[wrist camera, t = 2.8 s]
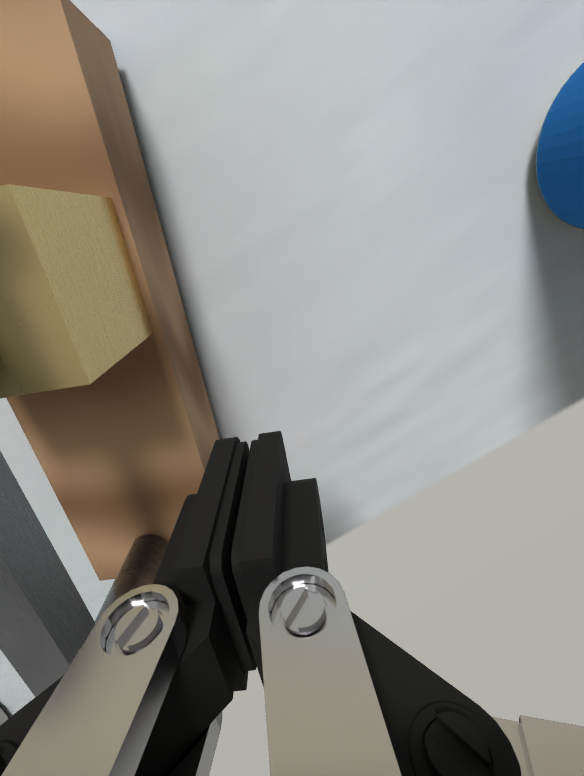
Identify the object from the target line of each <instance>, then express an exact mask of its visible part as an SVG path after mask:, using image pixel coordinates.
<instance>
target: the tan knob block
mask: <svg viewBox="0 0 584 776" xmlns="http://www.w3.org/2000/svg"><path fill="white" fill-rule="evenodd" d="M152 333H154V331H153V328H152V325H151V322H150V319H149V315H148V312H147V309H146V306H145V303H144V299H143V296H142V293H141V290H140V287H139V284H138V280H137V277H136V274H135V271H134V268H133V265H132V261H131V258H130V255H129V252H128V249H127V245H126V242H125V239H124V236H123V233H122V230H121V226H120V223H119V220H118V217H117V214H116V210H115V207H114V204H113V201H112V198H109V197H102V196H94V195H87V194H79V193H71V192H64V191H56V190H48V189H41V188H33V187H26V186H18V185H10V184H7V185H2V186H0V398H5V397H11V396H18V395H24V394H31V393H37V392H44V391H50V390H57V389H63V388H70V387H76V386H83V385H89V384H91V383H92V382H93V381H95V380H96V379H97V378H98V377H100V376H101V375H102V374H103V373H104V372H106V371H107V370H108V369H109V368H111V367H112V366H113V365H114V364H116V363H117V362H118V361H119V360H120V359H122V358H123V357H124V356H125V355H127V354H128V353H129V352H130V351H131V350H133V349H134V348H135V347H136V346H138V345H139V344H140V343H141V342H143V341H144V340H145V339H146V338H147V337H149V336H150V335H151V334H152Z"/></svg>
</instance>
